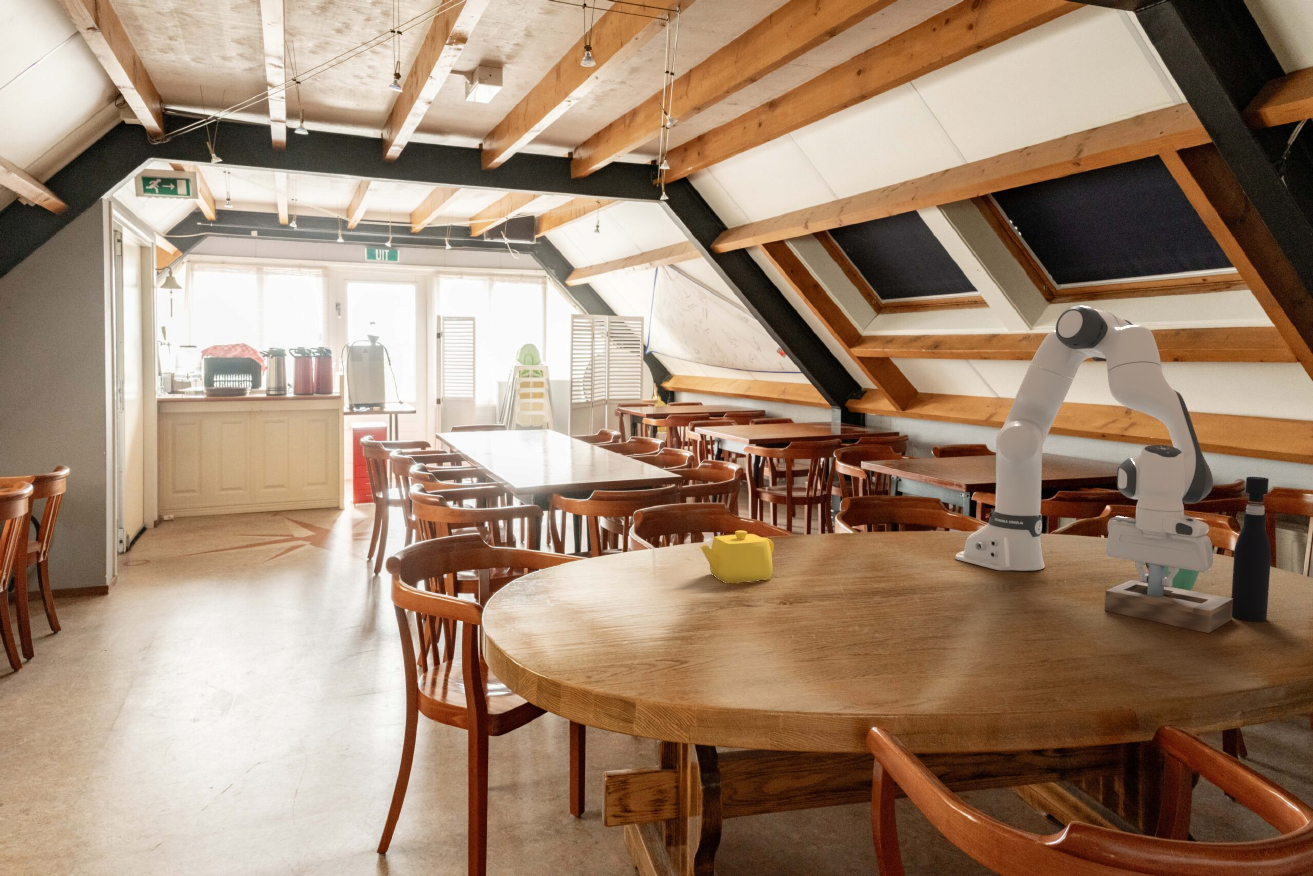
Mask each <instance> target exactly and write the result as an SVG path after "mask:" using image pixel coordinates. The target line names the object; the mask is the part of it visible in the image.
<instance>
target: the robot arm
mask: <svg viewBox="0 0 1313 876" xmlns="http://www.w3.org/2000/svg"><path fill="white" fill-rule="evenodd" d="M1056 321H1057V322H1056V325H1055V329H1054V330H1051V331H1050V332H1049V333H1047V335H1046V336H1045V338H1044V339H1043V340H1042V342H1041V344H1040V345H1039V347H1038V348H1037V350H1036V351H1035V354H1034V356H1033V357H1032V360H1031V362H1030V364H1029V366H1028V368H1027V370H1026V373H1025V375H1024V377H1023V380H1022V381H1021V384H1020V386H1019V388H1018V391H1017V392H1016V395H1015V398H1014V401H1013V403H1012V405H1011V407H1010V410H1009V412H1008V415H1007V417H1006V419H1005V421H1004V423H1003V426H1002V428H1001V429H999V432H998V433H997V435H996V438H995V440H996V441H995V445H996V446H995V475H996V477H995V478H996V481H995V509H994V510H993V511H991V512H989V513H986V514H985V518H986V519H988V522H987V524H985V525H984V526H983V527H981V528H980V529H978V530H976V531H974V532H973V533H971V534H970V535H969V536H968V537H967V539H966V541H965V545H964V549H963V550H962V551H960V552H957V553H956V554H955V558H954V559H955V560H958V561H962V562H964V563H965V562H966V563H969V564H974V565H977V566H981V567H984V568H988V569H992V570H997V571H1023V572H1025V571H1038V570H1039V571H1040V570H1042V569H1044V568H1045V562H1044V558H1043V554H1042V553H1043V552H1042V546H1041V545H1042V544H1041V535H1042V531H1043V530H1042V529H1043V523H1042V522H1043V515H1042V513H1041V506H1042V500H1041V499H1042V472H1043V471H1042V470H1043V446H1044V443H1045V441H1046V439H1047V438H1048V435H1049V432H1050V430H1051V428H1052V426H1053V424H1054V423H1055V420H1056V418H1057V415H1058V414H1059V411H1060V409H1061V407H1062V405H1063V403H1064V400H1065V399H1066V397H1067V394H1068V392H1069V390H1070V388H1071V385H1072V383H1073V381H1074V379H1075V376H1076V374H1077V372H1078V370H1079V368H1080V366H1081V364H1082V363H1083V362H1084V361H1086V360H1087V359H1090V358H1091V359H1092V360H1093V361H1094V362H1106V369H1107V380H1108V381H1107V382H1108V387H1109V390H1110V393H1111V395H1112V397H1113V398H1114V400H1116V401H1117V403H1119V404H1120V405H1122V406H1124V407H1126V408H1128V409H1130V410H1133V411H1135V412H1139V413H1143V414H1145V415H1147V416H1149V417H1153V418H1154V419H1157V420H1158V421H1159V422H1161V423H1162V424H1163V425H1164V426H1165V427H1166V428H1167V429H1166V430H1168V433H1169V437H1170V441H1171V443H1172V446H1169V445H1165V444H1164V445H1162V444H1152V445H1147V446H1145V447H1143V448H1142V450H1141V452H1140V454H1139V455H1137V456H1134V457H1130V458H1126V459H1125V460H1123V461H1122V463H1121V464H1119V466H1118V467H1117V471H1116V488H1117V489H1118V490H1119V492H1120V493H1121V494H1122V495H1123V496H1124V497H1126V498H1128V499H1132V500H1137V502H1136V508H1135V509H1136V510H1135V517H1127V516H1125V517H1124V516H1122V515H1121V516H1120V515H1116V516H1114V517H1111V518H1110V519H1109V520H1108V522H1107V532H1108V535H1107V539H1106V545H1105V553H1106V554H1107V556H1108V557H1110V558H1115V559H1121V560H1128V561H1133V562H1134V566H1135V569H1136V571H1137V572H1138V574H1139V581H1140V582H1143V583H1148V573H1147V572H1146V570H1145V568H1144V567H1145V566H1146V565H1145V563H1150V564H1156V565H1162V566H1168V571H1169V572H1171V573H1170V574H1169V576H1168V577H1164V578H1162V582H1163V583H1162V586H1165V587H1171V586H1172V580H1173V578H1174V577H1175V575H1176V574H1177V573H1178V572H1179V568H1180V569H1186V570H1192V571H1198V572H1199V573H1205V572H1208V571H1209V570H1211V569H1212V568H1213V563H1214V554H1213V552H1214V551H1213V550H1214V549H1213V543H1212V540H1211V539H1210V537H1209V536H1208V535H1206V534H1207V533H1208V532H1210V531H1209V530H1210V527H1209V525H1208V524H1207V522H1203V521H1202V520H1198V519H1197V518H1194V517H1191V516H1189V515H1187V514H1185V511H1184V510H1185V507H1184V504H1183V503H1186V504H1197V503H1199V502H1200V501H1202V500H1204V499H1205V498H1206V497H1207V496H1208V495H1209V494H1210V493H1211V492H1212V490H1213V485H1214V482H1213V481H1214V480H1213V474H1212V470H1211V469H1210V466H1209V464H1208V462H1207V461H1206V459H1205V456H1204V454H1203V452H1202V448H1201V445H1200V443H1199V440H1198V437H1197V434H1196V431H1195V427H1194V424H1193V421H1192V419H1191V415H1190V413H1189V410H1188V407H1187V405H1186V404H1187V403H1185V399H1184V398H1183V396H1182V394H1181V393H1180V392H1179V391H1177V390H1176V389H1173V388H1172V387H1171V385H1170V384H1169V383H1168V381H1167V380H1166V378H1165V376H1164V374H1163V370H1162V361H1161V356H1160V353H1159V348H1158V345H1157V341H1156V339H1155V336H1154V334H1153V332H1152V331H1151V330H1150V329H1149V328H1148V327H1145V326H1143V325H1138V324H1133V323H1132V322H1130V321H1129V320H1127V319H1123V318H1122V317H1120V316H1118V315H1115V314H1114V313H1111V312H1108V311H1103V310H1100V309H1095V308H1093V307H1091V306H1087V305H1073V306H1071V307H1068V308H1067V309H1066V310H1064V311H1063V312H1062V313H1061V314H1060V316H1059V318H1058V319H1057V320H1056Z"/></svg>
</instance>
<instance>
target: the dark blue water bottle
mask: <svg viewBox="0 0 1313 876" xmlns="http://www.w3.org/2000/svg"><path fill="white" fill-rule="evenodd" d="M1245 479H1246V480H1245V493H1246V494H1248V501H1247V503H1249V504H1246V506H1245V508H1246V509H1245V513H1243V514H1244V517H1243V526H1242V527H1241V530H1240V532H1239V533H1238V536H1237V540H1236V543H1235V546H1234V550H1233V551H1234V552H1233V567H1232V568H1233V569H1232V583H1231V595H1230V596H1231V597H1230V598H1232V599H1233V608H1232V618H1235V619H1237V620H1241V621H1246V622H1257V623H1258V622H1259V623H1261V622H1266V621H1267V618H1268V605H1269V604H1268V603H1269V602H1268V601H1269V590H1270V575H1271V574H1270V573H1271V562H1272V561H1271V559H1272V550H1271V543H1270V539H1269V535H1268V533H1267V530H1266V529H1267V528H1266V521H1267V520H1266V519H1267V514H1265V510H1266V508H1265V505H1263V504H1264V495H1268V494H1269V482H1270V480H1269V478H1268V477H1262V476H1247V477H1246V478H1245Z"/></svg>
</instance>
